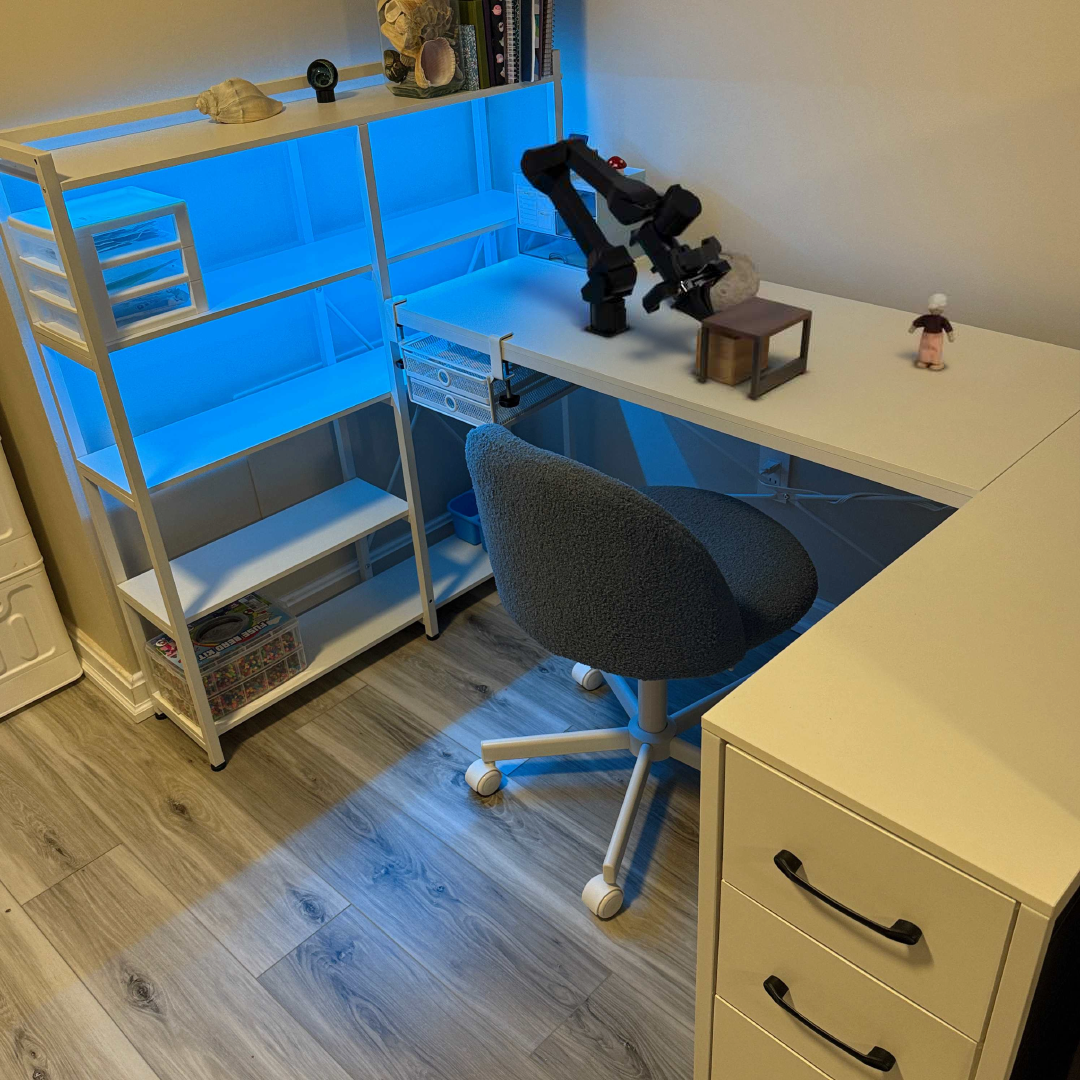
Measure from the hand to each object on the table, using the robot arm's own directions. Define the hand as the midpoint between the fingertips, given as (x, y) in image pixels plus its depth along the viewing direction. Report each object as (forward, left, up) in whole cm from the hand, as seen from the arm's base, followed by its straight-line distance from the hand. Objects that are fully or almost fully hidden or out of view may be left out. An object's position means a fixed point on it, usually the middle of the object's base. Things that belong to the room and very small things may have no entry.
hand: (713, 326), depth 180 cm
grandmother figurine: (+28, +23, -7) cm, 37 cm away
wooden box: (+4, 0, -7) cm, 8 cm away
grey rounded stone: (-19, +25, -7) cm, 32 cm away
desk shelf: (+9, 0, -7) cm, 11 cm away
